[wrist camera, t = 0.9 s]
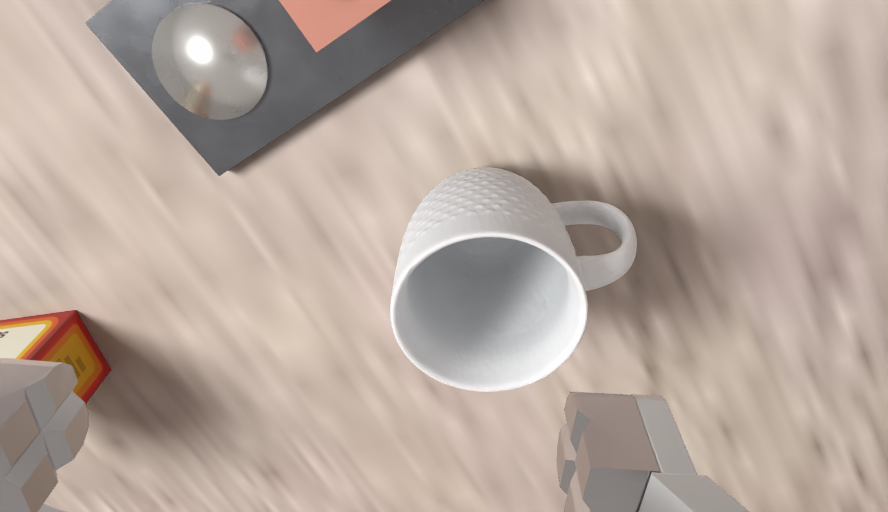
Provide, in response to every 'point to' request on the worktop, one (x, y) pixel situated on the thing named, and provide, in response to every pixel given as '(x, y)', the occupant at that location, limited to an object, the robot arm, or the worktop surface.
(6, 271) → the worktop surface
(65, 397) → the robot arm
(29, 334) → the baking soda box
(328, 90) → the base
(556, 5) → the worktop surface
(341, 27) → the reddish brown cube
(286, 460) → the worktop surface
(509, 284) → the mug
